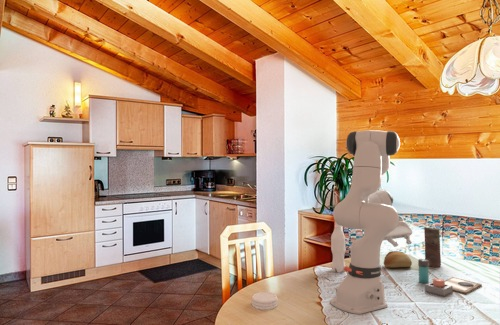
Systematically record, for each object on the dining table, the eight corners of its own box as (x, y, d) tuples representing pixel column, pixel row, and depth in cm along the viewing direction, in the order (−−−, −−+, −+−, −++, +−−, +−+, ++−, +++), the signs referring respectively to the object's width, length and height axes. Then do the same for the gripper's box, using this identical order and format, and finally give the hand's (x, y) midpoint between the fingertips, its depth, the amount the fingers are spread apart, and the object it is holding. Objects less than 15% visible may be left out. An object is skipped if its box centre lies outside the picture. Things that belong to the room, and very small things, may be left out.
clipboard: (465, 294, 143) (465, 292, 143) (436, 286, 153) (436, 284, 153) (481, 285, 153) (481, 283, 153) (452, 278, 162) (452, 276, 162)
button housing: (443, 297, 141) (443, 289, 141) (425, 291, 147) (425, 284, 147) (452, 292, 145) (452, 285, 145) (434, 287, 151) (433, 280, 151)
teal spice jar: (425, 284, 155) (425, 262, 155) (416, 281, 159) (416, 260, 159) (430, 282, 158) (430, 260, 158) (421, 279, 161) (421, 258, 161)
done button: (441, 290, 143) (441, 282, 143) (430, 287, 146) (430, 280, 146) (446, 287, 146) (446, 280, 146) (435, 284, 149) (435, 277, 149)
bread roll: (379, 265, 185) (379, 250, 185) (404, 263, 188) (404, 248, 188) (389, 270, 175) (389, 255, 175) (416, 268, 178) (415, 253, 178)
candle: (421, 263, 186) (421, 226, 186) (432, 262, 188) (432, 225, 188) (433, 268, 179) (432, 229, 179) (444, 266, 181) (443, 228, 181)
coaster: (262, 298, 142) (262, 289, 142) (282, 304, 136) (282, 295, 136) (246, 306, 135) (246, 297, 135) (267, 313, 128) (267, 303, 128)
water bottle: (344, 269, 178) (344, 220, 178) (347, 273, 171) (346, 223, 171) (330, 269, 179) (329, 220, 179) (332, 273, 172) (331, 223, 172)
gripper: (375, 219, 170) (391, 243, 161) (404, 216, 179) (421, 239, 170) (368, 227, 174) (384, 251, 165) (397, 223, 183) (413, 246, 174)
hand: (403, 244), depth 168 cm, fingers open, 8 cm apart
